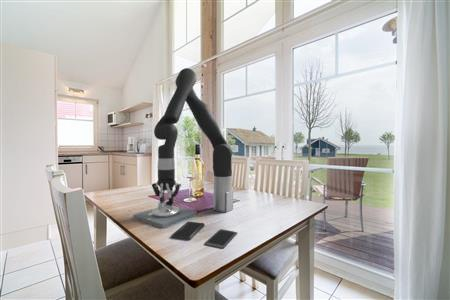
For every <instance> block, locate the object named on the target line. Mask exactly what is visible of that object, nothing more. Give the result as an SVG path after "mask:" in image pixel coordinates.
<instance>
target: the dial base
mask: <svg viewBox="0 0 450 300" xmlns="http://www.w3.org/2000/svg"><path fill="white" fill-rule="evenodd" d="M174 206H175V207H178V208H179V214H177V215H175V216H172V217H163V218H162V217H155V216H153V215H150V216H149V215H148V214H149V213H152V210H153V209H154V208H152V209H149V210H145V211H142V212H138V213H135V214H132V218H133V219H134V220H137V221H140V222H143V223H146V224H148V225H152V226H155V227H158V228H161V229H165V228H167V227H171V226H172V225H176V224H177V223H180V222H182V221H185V220H187V219H190V218H192V217H196V216H198V212H197V211H196V210H193V209H188V208H184V207H180V206H176V205H174Z"/></svg>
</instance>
